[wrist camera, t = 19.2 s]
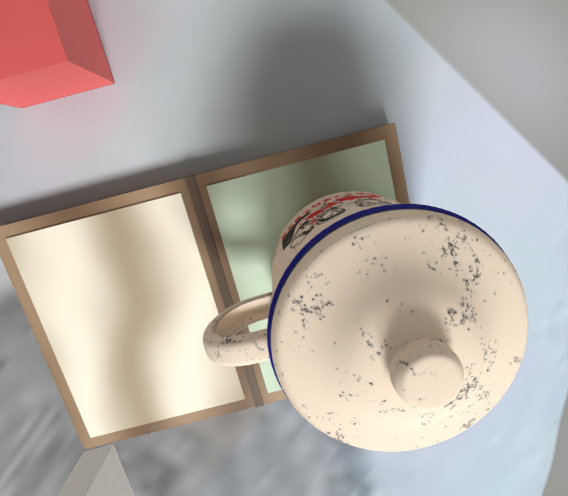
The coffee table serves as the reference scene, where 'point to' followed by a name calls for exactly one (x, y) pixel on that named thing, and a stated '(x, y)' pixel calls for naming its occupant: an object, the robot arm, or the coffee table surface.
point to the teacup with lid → (383, 321)
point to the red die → (49, 51)
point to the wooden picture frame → (173, 282)
